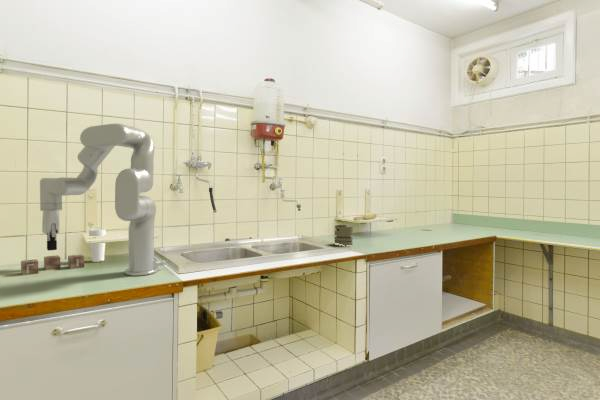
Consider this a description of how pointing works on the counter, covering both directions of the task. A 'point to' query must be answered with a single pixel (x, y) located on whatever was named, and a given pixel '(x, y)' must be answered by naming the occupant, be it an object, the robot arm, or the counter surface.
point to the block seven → (29, 267)
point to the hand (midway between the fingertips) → (51, 249)
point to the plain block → (52, 262)
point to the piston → (343, 234)
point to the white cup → (97, 245)
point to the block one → (76, 261)
